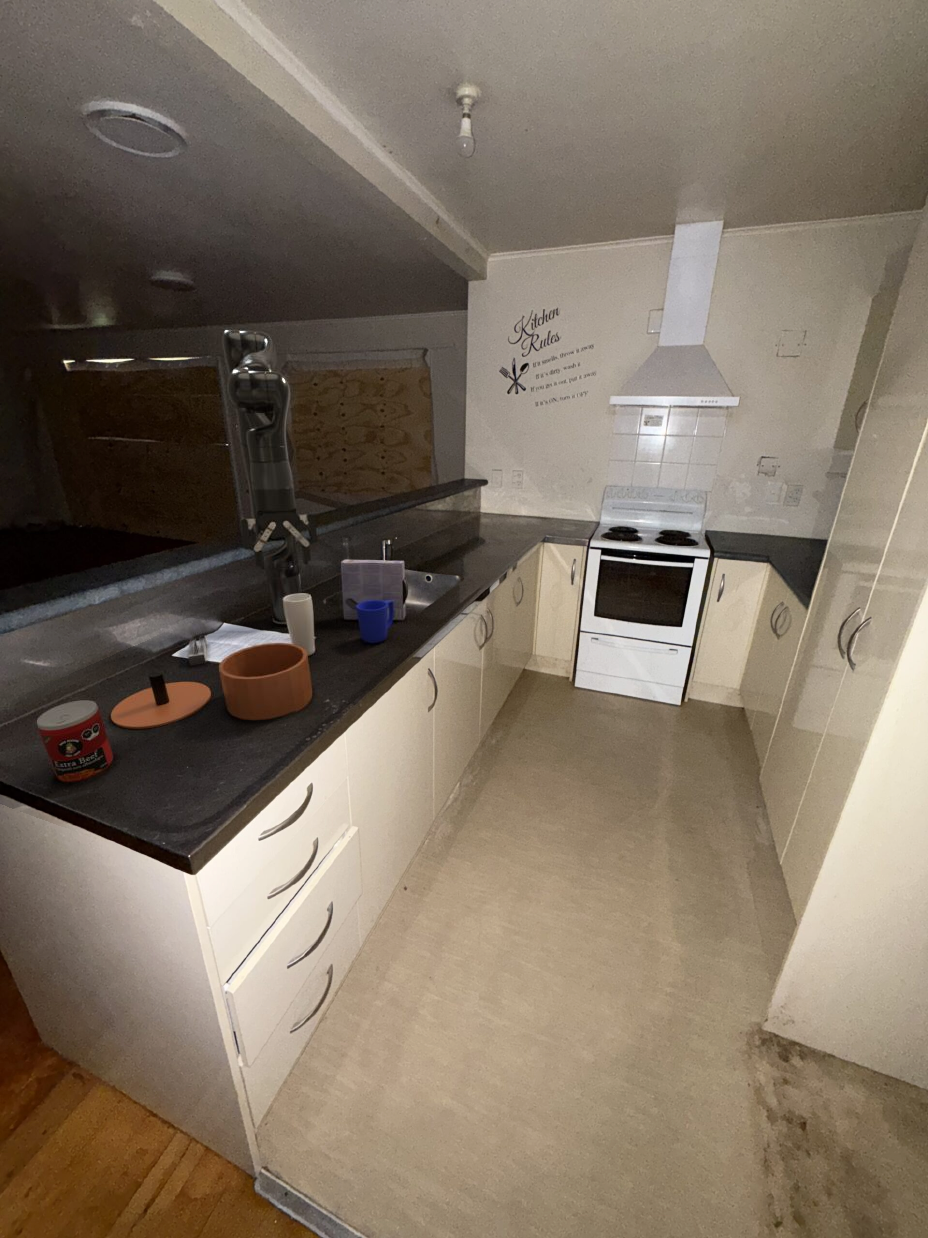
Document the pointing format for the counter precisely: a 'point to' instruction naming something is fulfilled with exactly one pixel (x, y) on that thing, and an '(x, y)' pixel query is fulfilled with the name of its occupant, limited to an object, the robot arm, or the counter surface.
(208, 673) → the counter surface
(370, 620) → the mug
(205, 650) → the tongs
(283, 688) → the pot
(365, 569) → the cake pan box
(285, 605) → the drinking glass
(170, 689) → the pot lid
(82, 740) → the canned food
